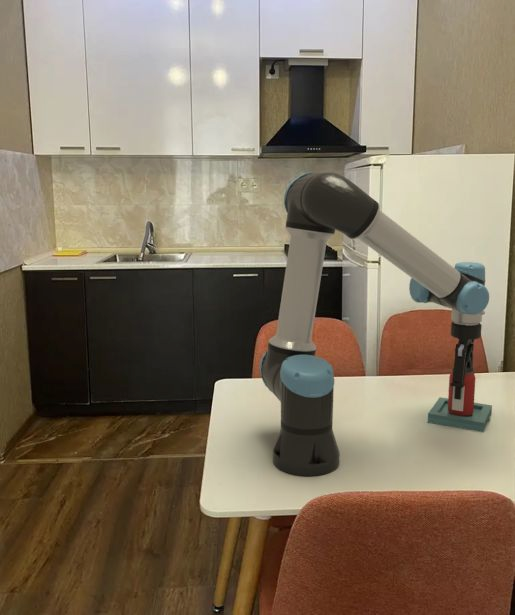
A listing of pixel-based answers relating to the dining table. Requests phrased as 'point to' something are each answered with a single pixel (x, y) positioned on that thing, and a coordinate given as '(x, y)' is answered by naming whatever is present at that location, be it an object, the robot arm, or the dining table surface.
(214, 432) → the dining table surface
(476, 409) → the coaster
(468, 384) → the beer can
